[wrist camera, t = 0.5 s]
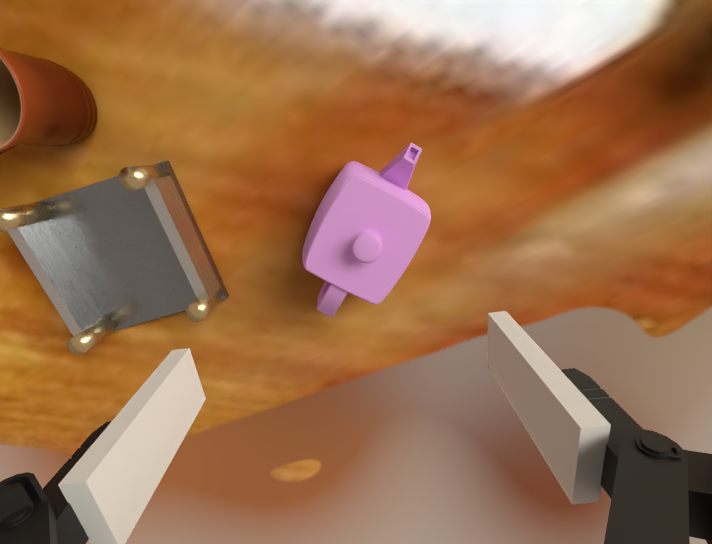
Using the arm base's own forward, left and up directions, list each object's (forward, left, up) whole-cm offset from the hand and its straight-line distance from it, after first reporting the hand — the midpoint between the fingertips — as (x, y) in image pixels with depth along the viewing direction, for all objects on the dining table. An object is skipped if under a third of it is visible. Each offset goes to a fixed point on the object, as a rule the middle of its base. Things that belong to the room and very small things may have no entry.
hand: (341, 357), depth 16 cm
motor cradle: (-4, -24, -26) cm, 36 cm away
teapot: (0, +2, -27) cm, 27 cm away
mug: (-19, -25, -26) cm, 41 cm away
